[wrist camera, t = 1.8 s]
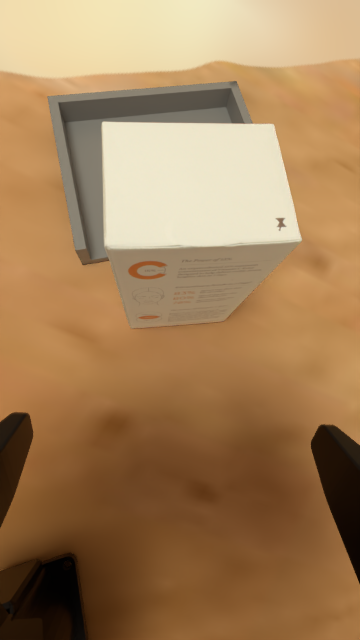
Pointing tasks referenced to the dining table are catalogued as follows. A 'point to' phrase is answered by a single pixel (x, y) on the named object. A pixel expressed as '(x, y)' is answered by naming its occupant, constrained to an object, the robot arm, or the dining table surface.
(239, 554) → the dining table surface
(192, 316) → the small box
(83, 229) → the tray
